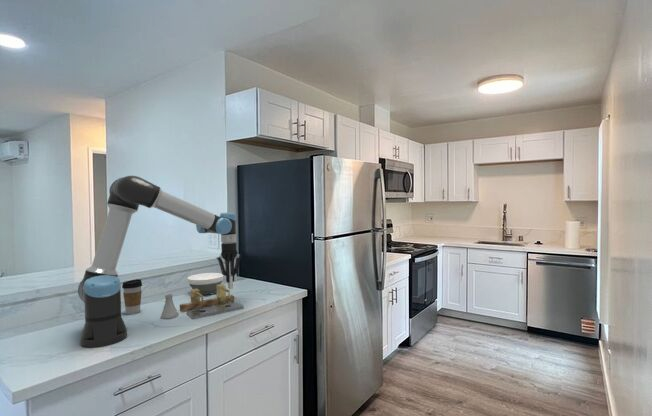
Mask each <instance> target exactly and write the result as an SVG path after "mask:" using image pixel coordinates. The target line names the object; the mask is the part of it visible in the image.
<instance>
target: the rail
mask: <svg viewBox="0 0 652 416" xmlns="http://www.w3.org/2000/svg"><path fill="white" fill-rule="evenodd" d="M233 302H235V295H233V294H230V300H229V298H228V295H226V303H224V304H228V303H233ZM218 305H222V304H220V298H217V297H213V298H208V299H204V295H201V294H200V290H198V289H192V288H191V289H190V302H187V303H185V302H184V303H181V304H179V312H181V313H184V312H188V311H193V310H198V309H203V308H208V307H213V306H218Z"/></svg>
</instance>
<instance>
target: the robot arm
mask: <svg viewBox="0 0 652 416" xmlns="http://www.w3.org/2000/svg"><path fill="white" fill-rule="evenodd" d="M108 191H109V196H108V199H107V203H106V205H107V207H108V209H109V210H108V213H107V216H106V220H105V223H104V226H103V229H102V231H101V235H100V238H99V242H98V245H97V248H96V251H95V255H94V257H93V261H92V263H91V266H89V267H87V268H86V269H85V272H84V275H83V278H82V279H81V281H80V283H79V284H78V287H77V294H78V297H79V299H80V300H81V301H82V302H83V304H84V321H85V322H84V326H83V329H82V332H81V335H80V338H79V345H80V346H81V347H84V348H98V347H105V346H109V345H113V344H116V343H119V342H122V341H123V340H124V339H126V338H127V337H128V329H127V326H126V324H125V321H124V319H123V317H122V296H121V292H122V291H121V288H122V284H121V280H120V278H119V277H118V276H119V273H118V271H117V270H116V269H117V266H118V263H119V258H120V255H121V252H122V250H123V246H124V242H125V240H126V236H127V232H128V229H129V225H130V222H131V221H132V216H133V215H134V214H135V213H137V212H138V210H139V207H140V206H143V207H146V208H148V209H151V208H153V209H154V208H155V209H157V210H160V211H162V212H165V213H167V214H169V215H172V216H174V217H176V218H178V219H181V220H184V221H186V222H188V223H191V224H194V225H195V228H196V231H197V232H198V234H209V233H210V234H218V235H220V243H221V245H220V247H221V249H220V251H221V253H220V254H219V256H217V257H216V260H217V262H218V264H219V268H220V272H221V274H222V275H223V277H224V276H225V279H226V280H225V282H226V283H227V286H228V287H227V289H228V290H232V289H234V282H235V275H237V274H238V272H239V269H240V262H241V259H242V256H243V255H242V254H239V253H238V249H237V228H236V227H237V225H236V222H237V220H236V214H235V213H234V212H220V214H219V215H217V214H215V213H213V212H210V211H208V210H206V209H204V208H201V207H199V206H196V205H195V204H192V203H190V202H188V201H186V200H184V199H182V198H179V197H177V196H174V195H172V194H170V193H168V192H165V191H163V190H162V187H160V186H158V185H156V184H155V183H152V182H150V181H148V180H146V179H144V178H142V177H140V176H137V175H126V176H123V177H119V178H117V179H115V180H114V181H113V182H112V183H111V185H110V186H109V190H108ZM223 260H224V261H223ZM224 264H225V265H224Z"/></svg>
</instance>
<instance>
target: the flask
mask: <svg viewBox="0 0 652 416" xmlns="http://www.w3.org/2000/svg"><path fill="white" fill-rule="evenodd" d="M173 295H174V294H173V293H167V294H165V295H164V297H165V302H164V305H163V309H162V311H161V314H160V319H163V320H165V319H166V320H170V319H173V318H177V317H178V316H179V312H178V311H177V308H176V306H175V304H174V301H173Z"/></svg>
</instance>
